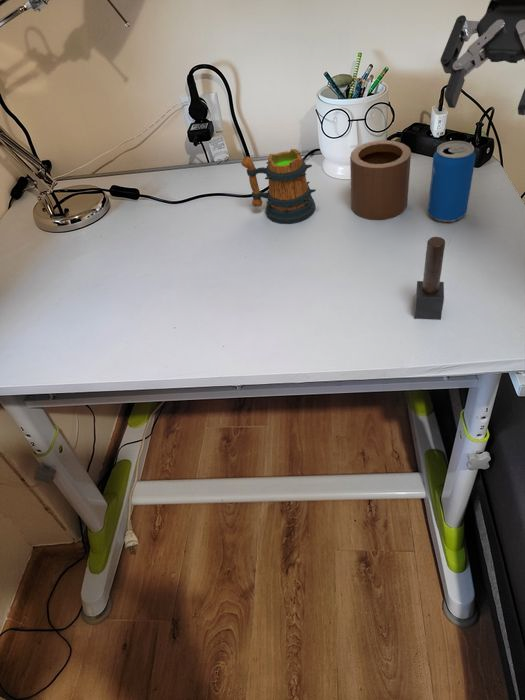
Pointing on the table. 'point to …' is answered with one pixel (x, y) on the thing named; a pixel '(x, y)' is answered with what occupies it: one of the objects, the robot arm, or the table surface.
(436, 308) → the cylinder on square base
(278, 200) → the mug
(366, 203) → the brown pencil cup
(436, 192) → the beverage can
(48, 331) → the table surface
